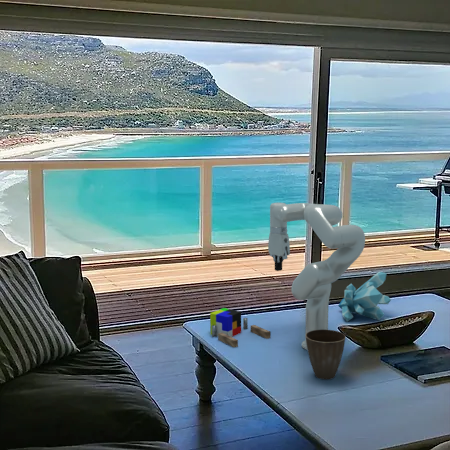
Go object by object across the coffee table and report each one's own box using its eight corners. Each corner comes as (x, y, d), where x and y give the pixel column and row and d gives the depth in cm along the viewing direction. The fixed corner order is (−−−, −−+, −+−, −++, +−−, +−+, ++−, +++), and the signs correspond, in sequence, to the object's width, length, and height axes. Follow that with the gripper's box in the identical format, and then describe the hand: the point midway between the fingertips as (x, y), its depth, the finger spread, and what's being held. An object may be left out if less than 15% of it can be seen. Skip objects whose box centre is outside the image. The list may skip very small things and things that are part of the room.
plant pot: (297, 372, 252) (298, 332, 249) (330, 365, 258) (331, 327, 255) (318, 386, 238) (318, 344, 236) (352, 379, 244) (353, 338, 241)
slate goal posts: (248, 328, 303) (248, 318, 302) (213, 337, 292) (213, 326, 291) (245, 327, 304) (245, 317, 304) (211, 336, 293) (210, 325, 292)
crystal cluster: (391, 327, 304) (390, 285, 299) (335, 326, 310) (334, 284, 306) (391, 310, 325) (390, 270, 320) (338, 309, 331) (337, 270, 326)
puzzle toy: (227, 338, 290) (227, 317, 288) (210, 334, 296) (210, 313, 294) (241, 332, 298) (241, 311, 296) (223, 328, 304) (223, 308, 302)
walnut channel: (270, 338, 290) (270, 331, 289) (234, 347, 279) (234, 340, 278) (254, 331, 300) (254, 324, 299) (218, 339, 288) (218, 333, 288)
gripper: (296, 231, 288) (295, 272, 291) (273, 227, 300) (273, 266, 303) (283, 233, 284) (283, 274, 287) (261, 229, 296) (261, 268, 299)
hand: (278, 270), depth 295 cm, fingers closed
